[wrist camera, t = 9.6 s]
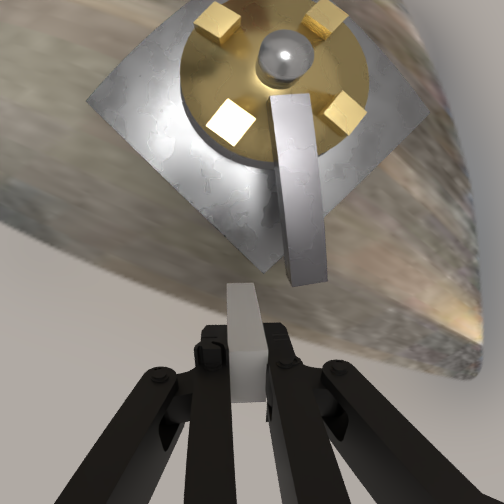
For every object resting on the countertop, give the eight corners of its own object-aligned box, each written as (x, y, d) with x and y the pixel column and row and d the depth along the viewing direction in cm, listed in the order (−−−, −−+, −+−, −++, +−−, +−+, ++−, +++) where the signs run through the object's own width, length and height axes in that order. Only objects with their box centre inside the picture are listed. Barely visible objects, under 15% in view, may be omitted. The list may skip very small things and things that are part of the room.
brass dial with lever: (179, 21, 17) (163, -21, 11) (337, 11, 17) (367, -27, 11) (213, 268, 22) (207, 307, 16) (366, 245, 22) (407, 274, 16)
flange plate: (93, 103, 22) (71, 96, 18) (265, -41, 19) (270, -65, 15) (262, 267, 27) (267, 286, 23) (421, 114, 23) (447, 110, 20)
